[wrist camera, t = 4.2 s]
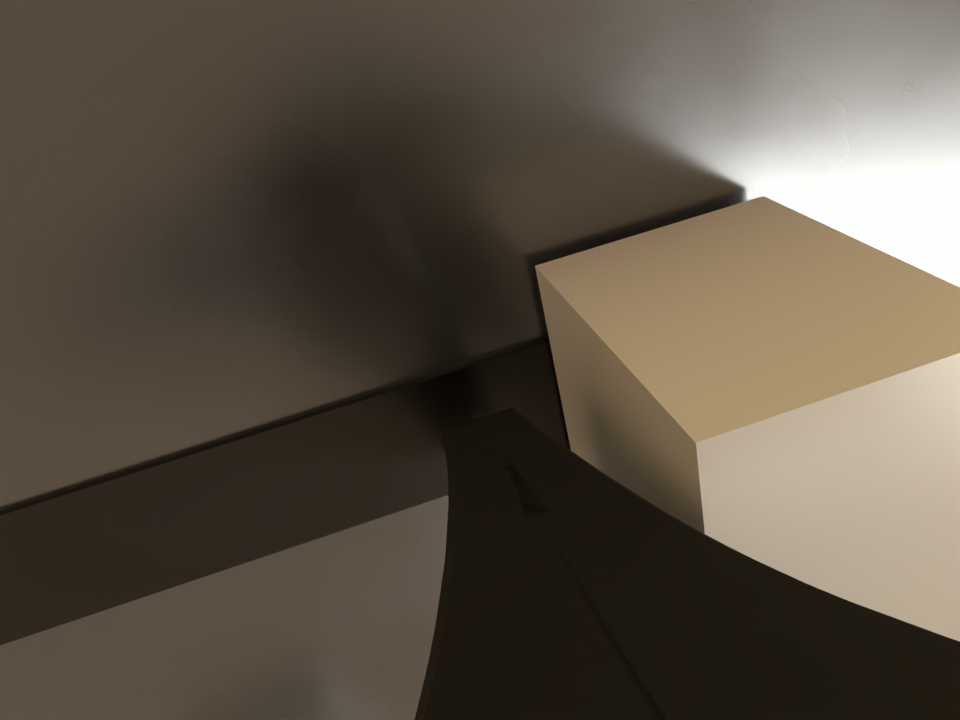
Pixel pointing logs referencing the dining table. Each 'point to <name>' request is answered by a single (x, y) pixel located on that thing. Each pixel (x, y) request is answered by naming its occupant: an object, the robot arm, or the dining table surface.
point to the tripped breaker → (774, 397)
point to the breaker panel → (360, 293)
